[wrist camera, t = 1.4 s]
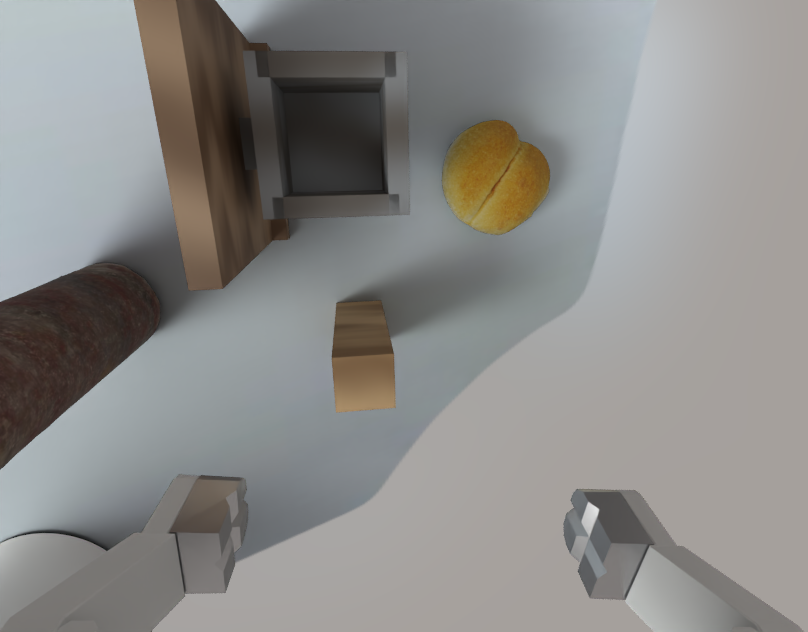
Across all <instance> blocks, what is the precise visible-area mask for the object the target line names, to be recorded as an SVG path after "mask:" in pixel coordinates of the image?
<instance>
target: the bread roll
mask: <svg viewBox="0 0 808 632" xmlns="http://www.w3.org/2000/svg"><path fill="white" fill-rule="evenodd" d="M549 180H550V170H549V166H548V163H547V160H546V158H545V157H544V155H543V154H542V153H541V151H540V150H539V149H537V148H536V147H534V146H533V145H531V144H529V143H526V142H521V141H520V140H519V138H518V134H517V132H516V131H515V129H514V128H513V126H511V125H510V124H508V123H507V122H505V121H500V120H493V121H486V122H482V123H479V124H477V125H474V126H472V127H471V128H469V129H467V130H465V131H464V132H462V133H461V134H460V135H459V136H458V137H457V138H456V139H455V140H454V142H453V143H452V144H451V146H450V147H449V149H448V151H447V154H446V156H445V161H444V167H443V172H442V186H443V191H444V195H445V198H446V200H447V203H448V204H449V206H450V208H451V210H452V211H453V213H454V214H455V215H456V217H457V218H458V219H460V220H461V221H462V222H464V223H466V224H468V225H469V226H471V227H472V228H474V229H476V230H478V231H480V232H483V233H487V234H495V235H500V234H504V233H506V232H509V231H510V230H512V229H514V228H515V227H517V226H518V225H520V224H521V223H522V222H524V221H526V220H527V219H528V218H529V217H531V216H532V214H533V212H534V211H535V210H536V209H537V208H538V207H539V205H540V204H541V203H542V201H543V200H544V199H545V198H546V196H547V194H548V192H549V187H548V186H549Z"/></svg>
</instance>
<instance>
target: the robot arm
mask: <svg viewBox="0 0 808 632" xmlns="http://www.w3.org/2000/svg"><path fill="white" fill-rule="evenodd" d="M246 490H247V489H246V480H245V479H244V478H239V477H222V476H205V475H201V476H197V475H181V474H179V475H178V476H177V477H175V478H174V479H173V481H172V482H171V484H170V486H169V487H168V489H167V491H166V492H165V494H164V496H163V497H162V499H161V501H160V502H159V504H158V506H157V507H156V509H155V511H154V512H153V514H152V516H151V517H150V519H149V521H148V522H147V524H146V526H145V527H144V529H143V531H142V532H141V533H133V534H132V535H130V536H129V537H127V538H126V539H124V540H123V541H121V542H120V543H118V544H117V545H116V546H114V547H113V548H111V549H110V550H108V551H106V550H104V549H103V548H101V547H99V546H97V545H95V544H93V543H91V542H89V541H86V540H83V539H80V538H77V537H73V536H68V535H63V534H53V533H37V534H28V535H23V536H19V537H15V538H12V539H9V540H7V541H4V542H2V543H0V632H152V629H154V627H155V626H156V625H157V624H158V623H159V622H160V621H161V620H162V619H163V618H164V617H165V616H166V615H167V614H168V613H169V612H170V611H171V610H172V609H173V608H174V607H175V606H176V605H177V604H178V602H180V601H181V600H182V599H183V598H184V597H185V594H188V593H225V592H226V590H227V587H228V583H229V580H230V578H231V575H232V572H233V569H234V566H235V557H234V553H235V552H236V551H237V550H238V549H239V548H240V547H241V546H242V542H243V539H244V536H245V532H246V527H247V521H248V504H247V503H246V502H245V501H244V500H243V498H244V496H245V493H246ZM571 502H572V504H573V506H574V508H573V509H572V510H570V511H569V512H568V513H567V514H566V517H565V521H564V537H565V541H566V545H567V548H568V550H569V552H570V554H571V555H572V556H573V557H574V558H575V559H576V560H578V561H579V562H580V565H579V569H578V573H579V575H580V577H581V580H582V582H583V584H584V586H585V588H586V591H587V593H588V595H589V597H590V598H594V599H616V600H625V603H627V605H628V606H629V607H630V608H631V609H632V610H633V611H634V612H635V613H636V614H637V615H638V616H639V617H640V618H641V619H642V620H643V621H644V622H645V623H646V624H647V625H648V626H649V627H650V628H651V629H652V630H653V631H654V632H803V631H802V629H801V628H800V627H799V626H798V625H796V624H795V623H794V622H792V621H791V620H789V619H788V618H786V617H785V616H784V615H782V614H781V613H779V612H778V611H776V610H775V609H773V608H772V607H770V606H769V605H768V604H766V603H765V602H763V601H762V600H760V599H759V598H757V597H756V596H755V595H753V594H752V593H750V592H749V591H747V590H746V589H744V588H743V587H742V586H740V585H739V584H737V583H736V582H734V581H733V580H731V579H730V578H729V577H727V576H726V575H724V574H723V573H721V572H720V571H718V570H717V569H716V568H714V567H713V566H711V565H710V564H708V563H707V562H705V561H704V560H702V559H701V558H700V557H698V556H697V555H695V554H694V553H692V552H691V551H689V550H688V549H686V548H685V547H683V546H677V545H676V543H675V542H674V541H673V539H672V538H671V537H670V535H669V534H668V532H667V531H666V529H665V528H664V527H663V525H662V524H661V522H660V521H659V520H658V518H657V517H656V515H655V514H654V513H653V511H652V510H651V508H650V507H649V506H648V504H647V503H646V501H645V500H644V498H643V497H642V496H641V494H640V493H638V492H637V491H635V490H593V489H577V490H576V491H575V492H574V493H573V495H572V498H571Z"/></svg>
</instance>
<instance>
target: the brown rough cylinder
mask: <svg viewBox="0 0 808 632" xmlns="http://www.w3.org/2000/svg"><path fill="white" fill-rule="evenodd" d="M159 320H160V303H159V300H158V298H157V297H156V295H155V292H154V291H153V290H152V288H151V287H150V286H149V285H148V283H147V282H146V280H145V279H144V278H143V277H141V276H139V275H138V274H136V273H135V272H133V271H132V270H130V269H129V268H127V267H125V266H122V265H117V264H112V263H100V264H93V265H90V266H87V267H85V268H83V269H80V270H78V271H75V272H72V273H70V274H67V275H64V276H61V277H59V278H57V279H55V280H53V281H50V282H48V283H45V284H43V285H41V286H39V287H36V288H34V289H31V290H29V291H27V292H24V293H22V294H19V295H17V296H14V297H12V298H9V299H7V300H4V301H2V302H0V469H1V468H3V467H4V466H5V465H6V464H7V463H8V462H9V461H10V460H11V459H12V458H13V457H14V456H15V455H16V454H17V453H18V452H19V451H21V450H22V449H23V448H24V447H25V446H26V445H28V444H29V443H30V442H31V441H32V440H33V439H34V438H35V437H36V436H38V435H39V434H40V433H41V432H43V431H44V430H45V429H46V428H48V427H49V426H50V425H51V424H52V423H53V422H54V421H55V420H56V419H57V418H58V417H59V416H61V415H62V414H63V413H64V412H65V411H66V410H67V409H68V408H70V407H71V406H72V405H73V404H74V403H76V402H77V401H78V400H79V399H80V398H81V397H83V396H84V395H85V394H86V393H87V392H89V391H90V390H91V389H92V388H93V387H94V386H95V385H96V384H97V383H99V382H100V381H101V380H102V379H103V378H104V377H105V376H107V375H108V374H109V373H110V372H111V371H112V370H114V369H115V368H116V367H117V366H118V365H120V364H121V363H122V362H123V361H124V360H125V359H127V358H128V357H129V356H130V355H131V354H132V353H133V352H135V351H136V350H137V349H138V348H139V347H140V346H141V345H142V344H144V343H145V342H146V341H147V340H148V339H149V338H150V337H151V336H152V335H153V333H154V332H155V330H156V328H157V326H158V323H159Z"/></svg>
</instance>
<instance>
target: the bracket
mask: <svg viewBox="0 0 808 632" xmlns="http://www.w3.org/2000/svg"><path fill="white" fill-rule="evenodd" d="M134 5H135V10H136V16H137V21H138V26H139V31H140V37H141V42H142V47H143V52H144V58H145V63H146V68H147V73H148V79H149V84H150V89H151V95H152V100H153V105H154V110H155V116H156V121H157V126H158V131H159V137H160V142H161V147H162V152H163V158H164V163H165V168H166V174H167V179H168V184H169V189H170V195H171V200H172V205H173V210H174V216H175V221H176V226H177V231H178V237H179V242H180V247H181V253H182V258H183V263H184V268H185V274H186V279H187V284H188V289H189V291H190V290H210V289H223V288H224V287H225V286H226V285H227V284H228V283H229V282H230V281H231V280H232V279H233V278H235V277H236V276H237V275H238V274H239V273H240V272H241V271H242V270H243V269H244V268H245V267H246V266H247V265H248V264H249V263H250V262H251V261H252V260H253V259H254V258H255V257H256V256H257V255H258V254H259V253H260V252H261V251H262V250H263V249H265V248H266V247H267V246H268V245H269V244H270V243H271V242H272V241H273V240H288V239H289V238H290V235H289V225H288V219H297V218H327V217H357V216H387V215H410V201H409V137H408V72H407V52H366V51H270V47H269V46H268V44H267V43H249V42H248V41H247V39H246V38H245V37H244V36H243V34H242V33H241V32H240V31H239V29H238V28H237V27H236V26H235V24H234V23H233V22H232V21H231V19H230V18H229V17H228V16H227V14H226V13H225V12H224V11H223V9H222V8H221V7H220V6H219V4H218V3H217V2H216V1H215V0H134Z"/></svg>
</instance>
